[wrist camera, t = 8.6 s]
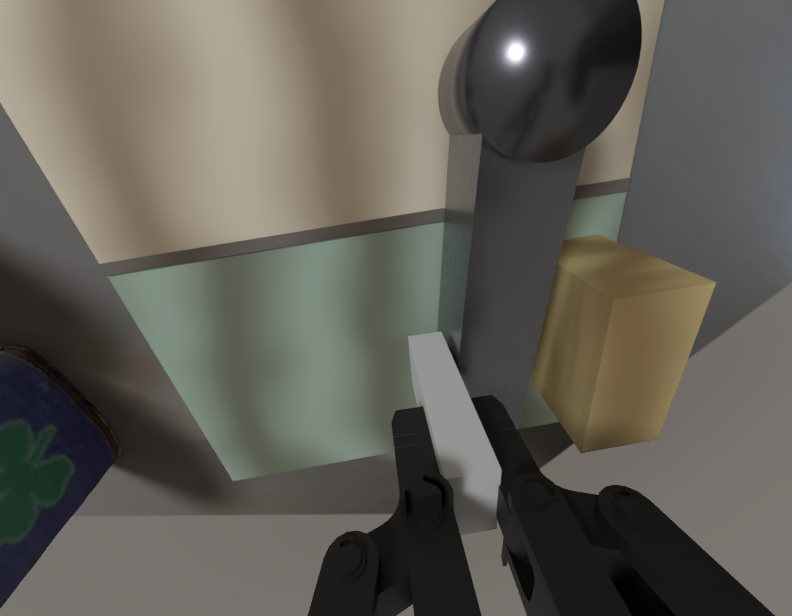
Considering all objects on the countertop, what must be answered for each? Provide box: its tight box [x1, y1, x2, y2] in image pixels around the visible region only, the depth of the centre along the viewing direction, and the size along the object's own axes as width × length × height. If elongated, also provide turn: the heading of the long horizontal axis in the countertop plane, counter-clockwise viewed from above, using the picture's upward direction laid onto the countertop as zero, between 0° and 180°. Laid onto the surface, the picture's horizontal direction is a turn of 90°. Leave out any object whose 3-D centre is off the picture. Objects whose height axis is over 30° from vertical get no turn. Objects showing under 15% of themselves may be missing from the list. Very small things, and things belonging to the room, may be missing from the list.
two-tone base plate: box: [0, 0, 716, 481], centre depth 13 cm, size 22×24×8 cm
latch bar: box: [437, 0, 642, 430], centre depth 12 cm, size 15×4×4 cm, turn 0°
